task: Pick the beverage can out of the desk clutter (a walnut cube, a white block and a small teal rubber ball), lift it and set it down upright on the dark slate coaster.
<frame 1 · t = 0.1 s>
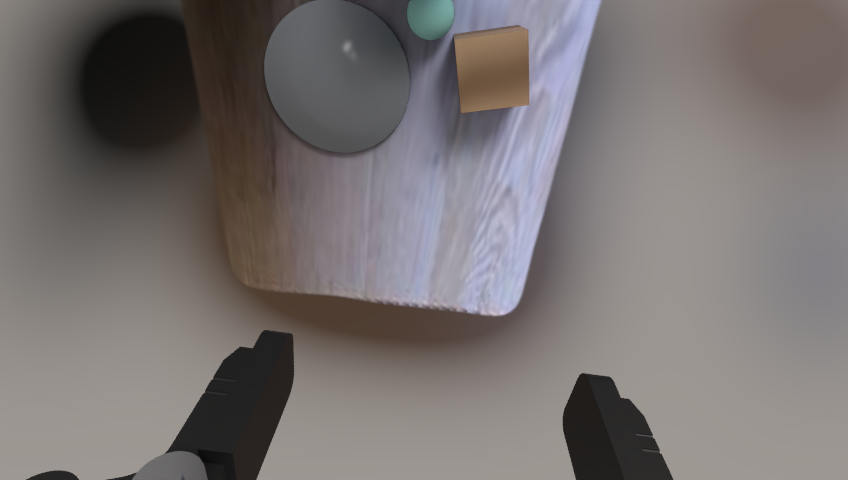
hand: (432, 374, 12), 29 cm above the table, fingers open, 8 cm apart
teal ball: (430, 14, 32), point 2 cm above the table
walnut cube: (487, 63, 35), on the table
coaster: (338, 80, 36), on the table
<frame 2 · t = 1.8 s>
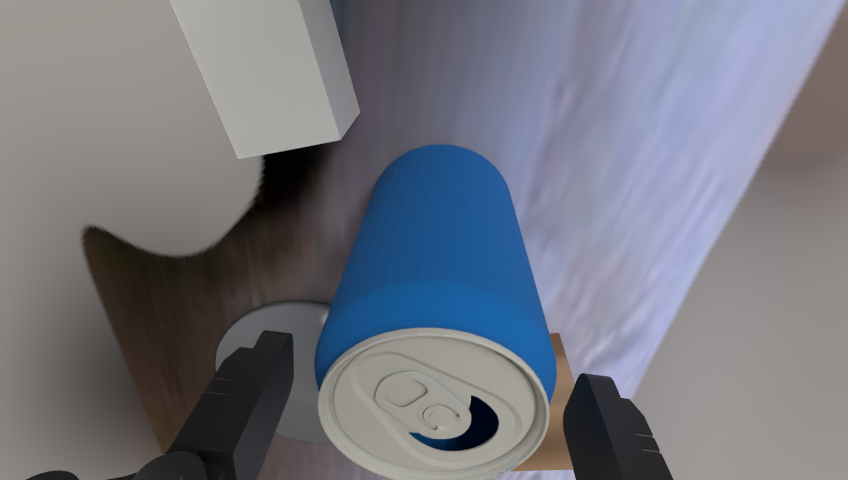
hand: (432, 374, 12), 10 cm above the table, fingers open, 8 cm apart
white block: (294, 48, 18), on the table
walnut cube: (515, 365, 26), on the table
coaster: (315, 375, 27), on the table
beverage can: (441, 202, 21), on the table
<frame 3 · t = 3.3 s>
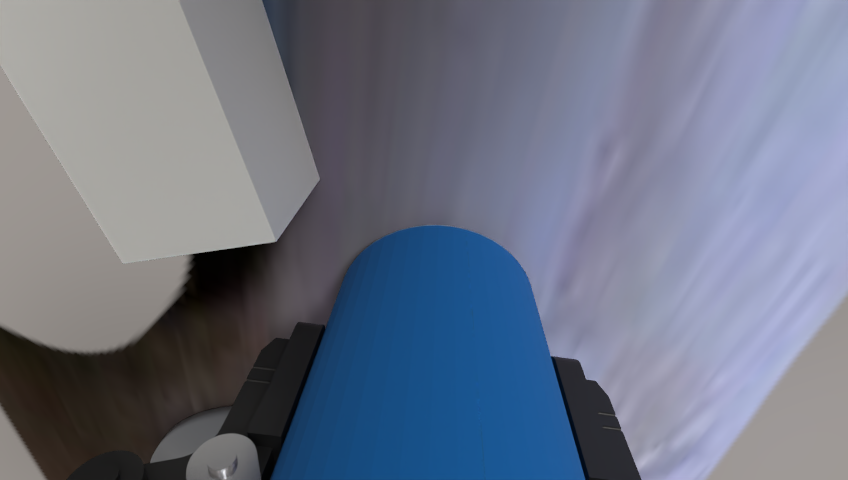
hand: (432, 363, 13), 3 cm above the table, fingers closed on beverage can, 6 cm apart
white block: (222, 90, 12), on the table
beverage can: (436, 292, 16), on the table, touching gripper
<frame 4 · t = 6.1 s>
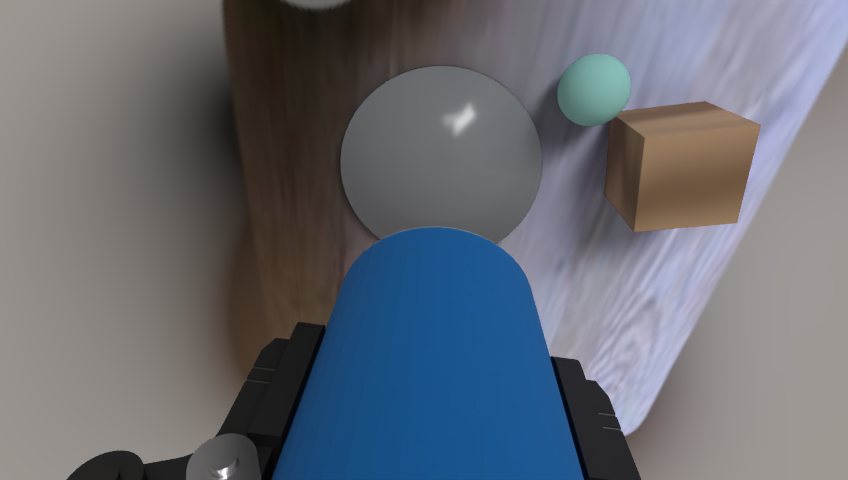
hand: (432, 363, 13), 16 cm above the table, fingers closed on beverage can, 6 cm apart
teal ball: (592, 91, 22), point 2 cm above the table
walnut cube: (651, 149, 25), on the table
coaster: (440, 170, 27), on the table
beverage can: (436, 293, 16), point 13 cm above the table, touching gripper
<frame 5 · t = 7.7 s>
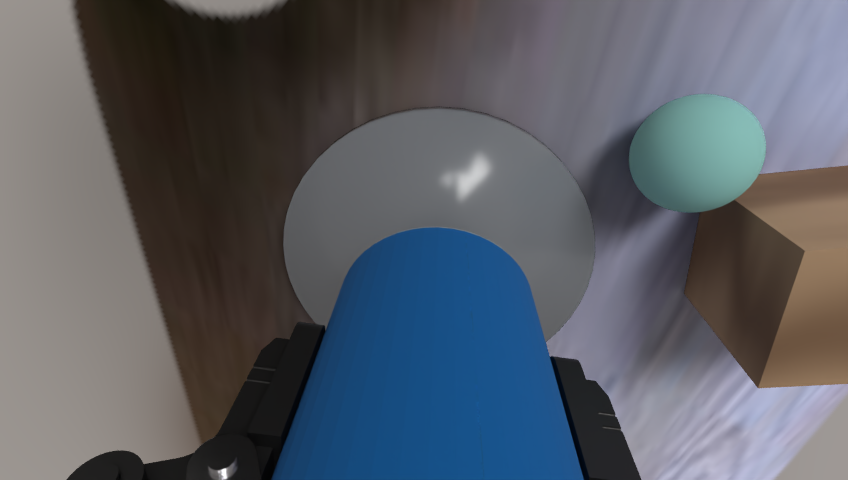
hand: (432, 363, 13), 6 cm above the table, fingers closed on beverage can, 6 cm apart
teal ball: (692, 154, 13), point 2 cm above the table
walnut cube: (763, 233, 16), on the table
coaster: (436, 258, 18), on the table
beverage can: (436, 293, 16), point 2 cm above the table, touching gripper
when the fingers open (5 cm above the table, at t = 9.0 s): beverage can stays where it is, resting on coaster.
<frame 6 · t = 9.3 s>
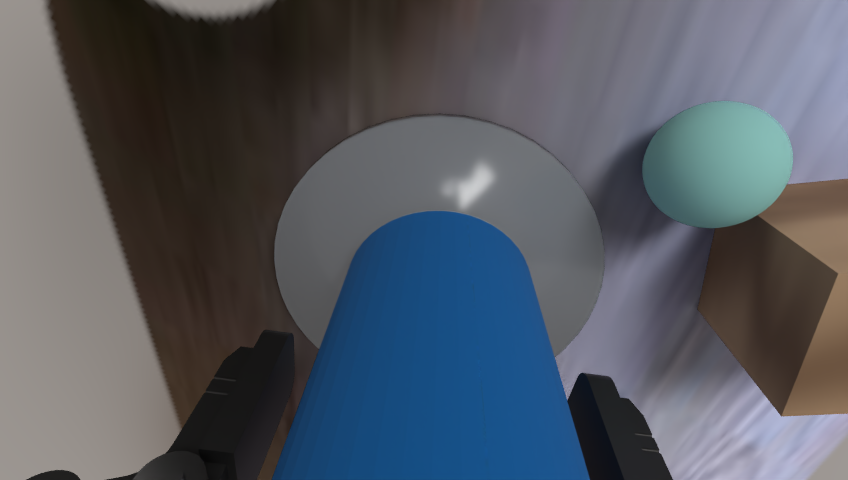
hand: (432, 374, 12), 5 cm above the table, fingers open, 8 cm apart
teal ball: (711, 166, 12), point 2 cm above the table
walnut cube: (782, 247, 15), on the table
coaster: (436, 272, 17), on the table
beverage can: (438, 277, 16), resting on coaster
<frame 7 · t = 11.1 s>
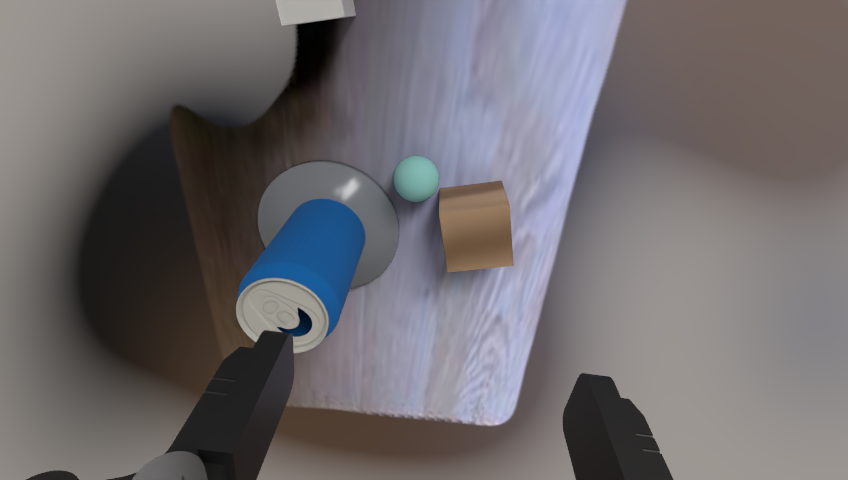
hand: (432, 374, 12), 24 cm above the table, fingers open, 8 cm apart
teal ball: (416, 179, 33), point 2 cm above the table
walnut cube: (473, 212, 36), on the table
coaster: (329, 227, 38), on the table
beverage can: (329, 229, 37), resting on coaster
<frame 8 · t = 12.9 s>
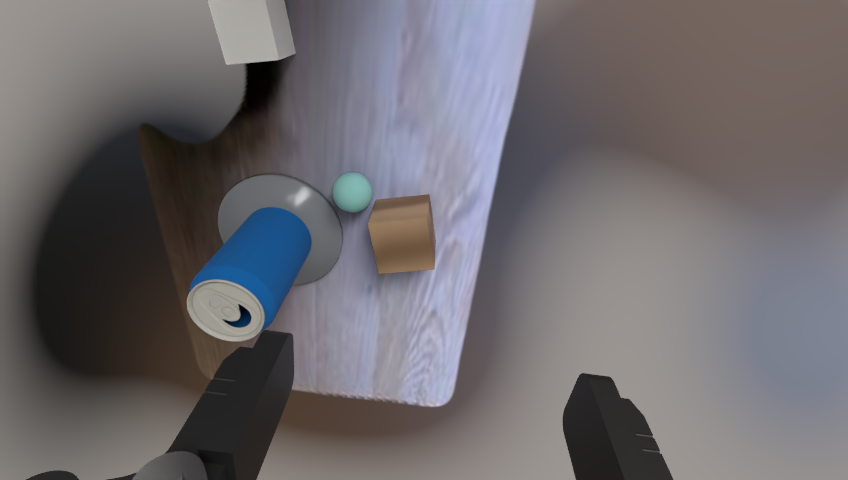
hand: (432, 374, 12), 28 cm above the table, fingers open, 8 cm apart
teal ball: (352, 192, 38), point 2 cm above the table
white block: (262, 13, 33), on the table
walnut cube: (406, 220, 42), on the table
coaster: (282, 231, 43), on the table
beverage can: (281, 232, 42), resting on coaster
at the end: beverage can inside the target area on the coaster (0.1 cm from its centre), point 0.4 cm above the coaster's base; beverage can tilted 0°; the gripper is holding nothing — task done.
